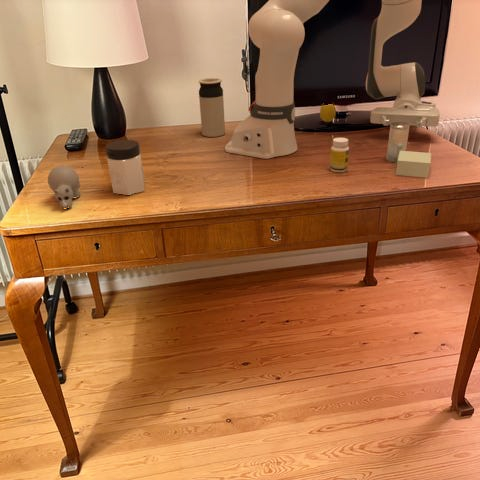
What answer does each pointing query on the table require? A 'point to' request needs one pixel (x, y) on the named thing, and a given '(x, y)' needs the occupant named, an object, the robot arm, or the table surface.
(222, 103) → the travel mug
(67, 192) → the round bodied animal figurine
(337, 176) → the table surface
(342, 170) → the supplement bottle
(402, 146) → the clear glass canister
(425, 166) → the block
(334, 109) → the lemon
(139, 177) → the jar
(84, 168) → the table surface
